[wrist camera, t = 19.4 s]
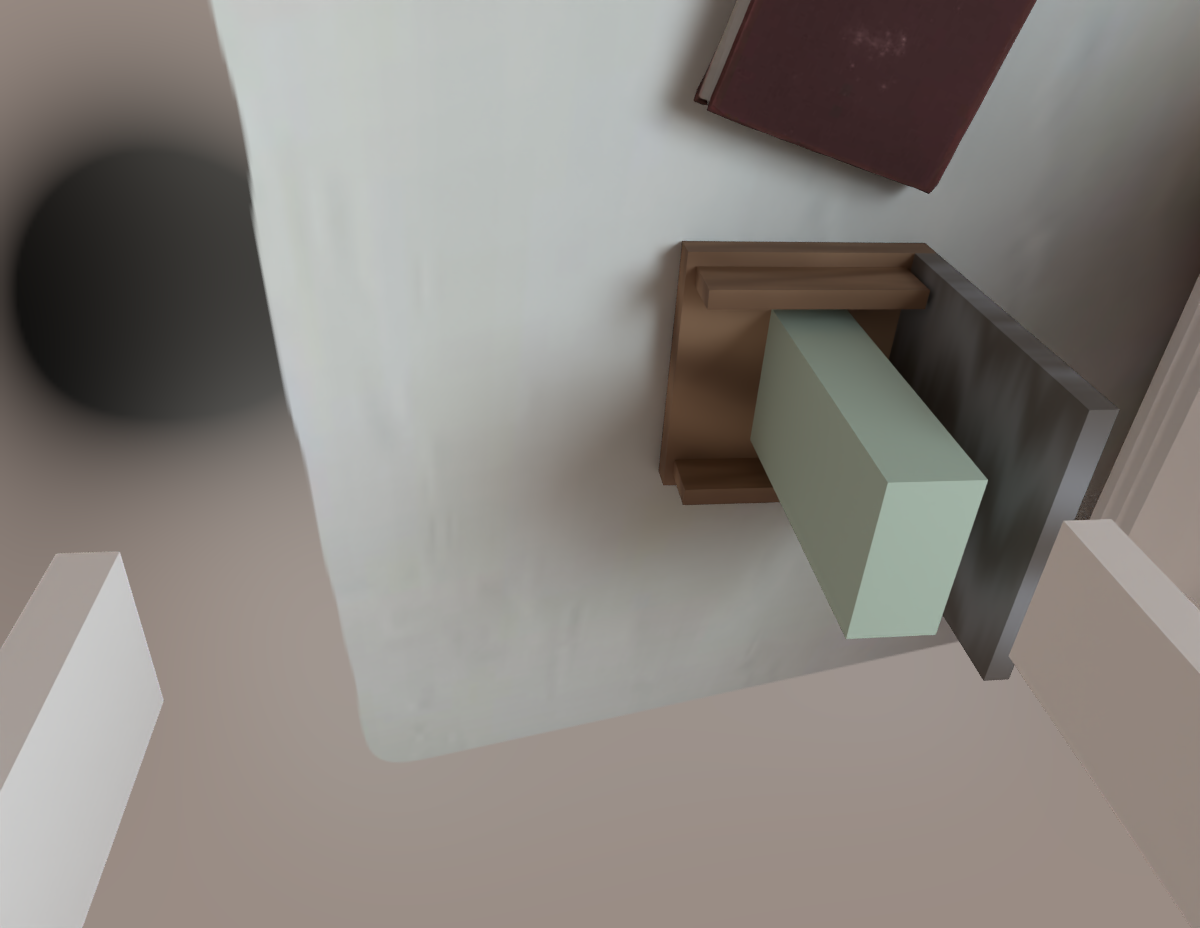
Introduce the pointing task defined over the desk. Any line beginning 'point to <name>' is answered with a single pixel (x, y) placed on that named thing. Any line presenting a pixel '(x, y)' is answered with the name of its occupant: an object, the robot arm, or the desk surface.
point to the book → (863, 76)
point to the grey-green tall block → (862, 474)
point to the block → (1164, 462)
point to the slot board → (933, 370)
